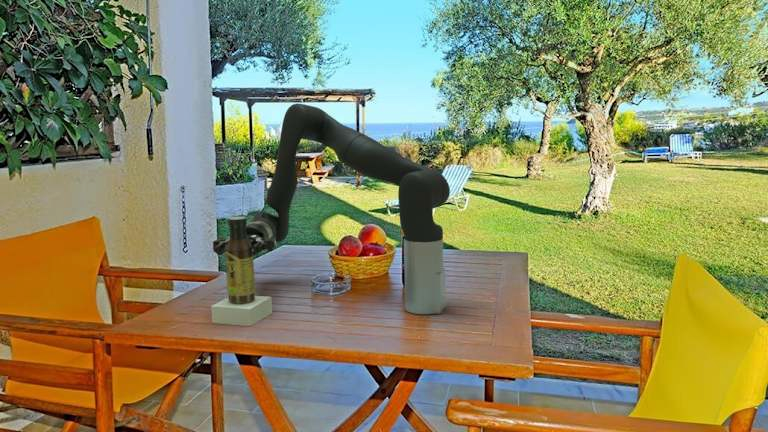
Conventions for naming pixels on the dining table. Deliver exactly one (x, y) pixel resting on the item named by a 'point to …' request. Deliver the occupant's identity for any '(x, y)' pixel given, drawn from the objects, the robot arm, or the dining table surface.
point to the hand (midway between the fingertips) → (236, 250)
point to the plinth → (241, 311)
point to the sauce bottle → (239, 263)
